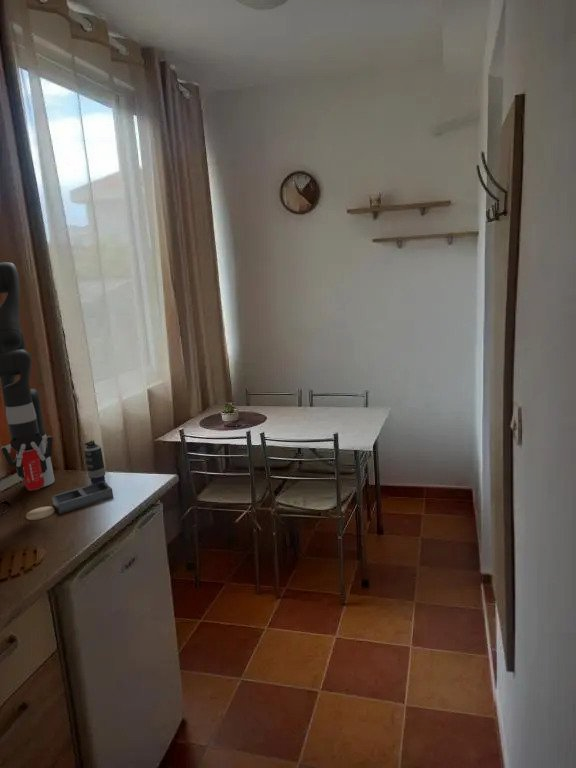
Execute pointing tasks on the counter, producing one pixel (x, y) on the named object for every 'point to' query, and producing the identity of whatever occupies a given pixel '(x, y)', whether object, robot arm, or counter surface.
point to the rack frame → (82, 497)
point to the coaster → (40, 513)
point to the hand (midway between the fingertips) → (33, 474)
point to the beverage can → (32, 470)
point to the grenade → (94, 462)
